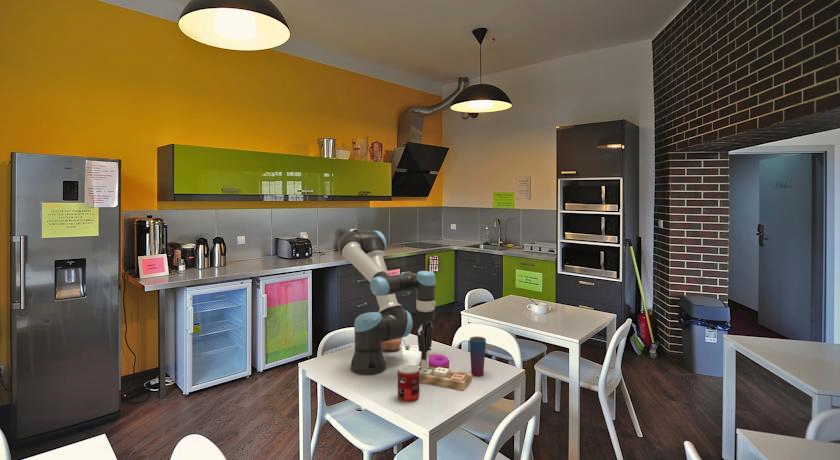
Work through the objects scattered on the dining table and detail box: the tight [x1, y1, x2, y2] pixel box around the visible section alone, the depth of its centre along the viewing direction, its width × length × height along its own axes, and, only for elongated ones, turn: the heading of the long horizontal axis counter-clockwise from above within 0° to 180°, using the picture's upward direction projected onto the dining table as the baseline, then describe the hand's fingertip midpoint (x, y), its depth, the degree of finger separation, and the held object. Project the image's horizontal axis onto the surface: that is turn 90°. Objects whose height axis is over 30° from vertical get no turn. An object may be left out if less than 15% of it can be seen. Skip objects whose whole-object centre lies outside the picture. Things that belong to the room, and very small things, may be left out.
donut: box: [429, 353, 450, 368], centre depth 196 cm, size 10×10×4 cm
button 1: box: [419, 368, 434, 375], centre depth 183 cm, size 5×5×2 cm
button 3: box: [450, 373, 466, 381], centre depth 177 cm, size 5×5×2 cm
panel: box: [418, 365, 473, 391], centre depth 180 cm, size 22×10×3 cm, turn 66°
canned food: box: [397, 364, 420, 403], centre depth 165 cm, size 8×8×11 cm
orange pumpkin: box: [382, 338, 402, 351], centre depth 218 cm, size 11×11×8 cm
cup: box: [469, 335, 487, 377], centre depth 187 cm, size 7×7×15 cm
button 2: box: [434, 367, 450, 378], centre depth 180 cm, size 5×5×2 cm
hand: (424, 366), depth 183 cm, fingers closed
